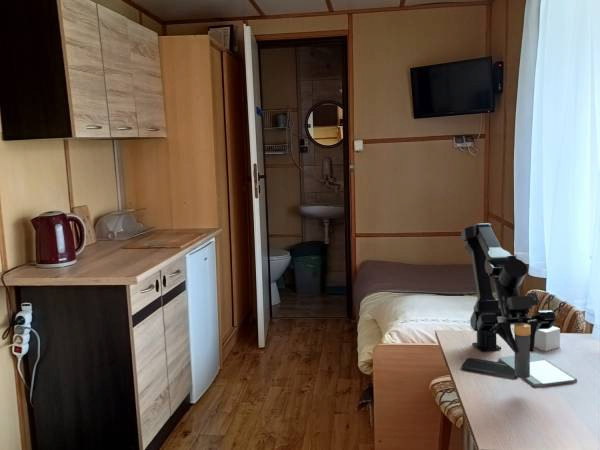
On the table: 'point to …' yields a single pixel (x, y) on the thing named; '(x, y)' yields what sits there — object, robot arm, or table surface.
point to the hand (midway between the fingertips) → (524, 352)
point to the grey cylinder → (522, 350)
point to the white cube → (547, 338)
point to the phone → (488, 368)
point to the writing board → (542, 371)
